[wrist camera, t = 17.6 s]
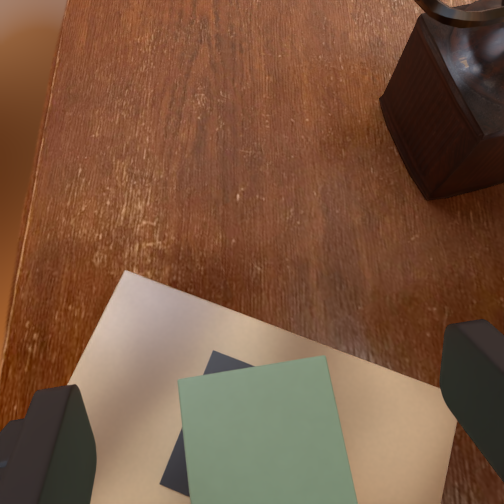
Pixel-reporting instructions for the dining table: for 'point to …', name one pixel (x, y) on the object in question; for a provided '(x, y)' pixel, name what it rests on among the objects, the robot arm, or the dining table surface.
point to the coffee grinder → (450, 98)
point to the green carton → (265, 436)
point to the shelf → (231, 358)
